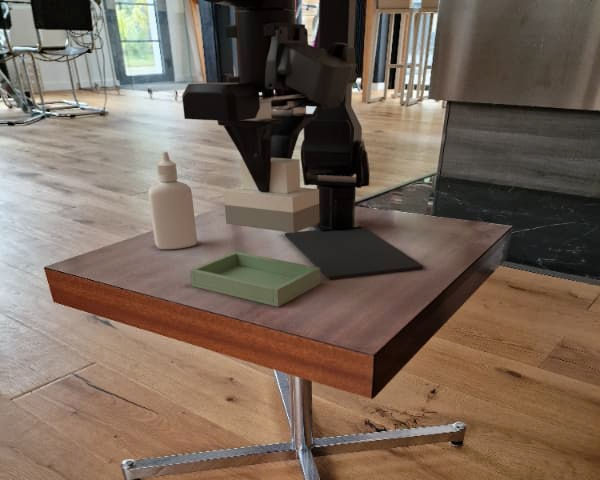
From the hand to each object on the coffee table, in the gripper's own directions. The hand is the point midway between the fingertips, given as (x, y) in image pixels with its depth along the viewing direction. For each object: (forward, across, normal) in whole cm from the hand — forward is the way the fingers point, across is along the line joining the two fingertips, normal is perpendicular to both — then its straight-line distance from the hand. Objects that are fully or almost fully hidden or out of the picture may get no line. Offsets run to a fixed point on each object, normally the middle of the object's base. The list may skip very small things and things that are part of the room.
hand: (271, 189), depth 60 cm
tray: (+10, -2, +1) cm, 10 cm away
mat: (+10, +15, -1) cm, 18 cm away
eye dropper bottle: (+10, +5, +20) cm, 23 cm away
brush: (+4, 0, 0) cm, 4 cm away
